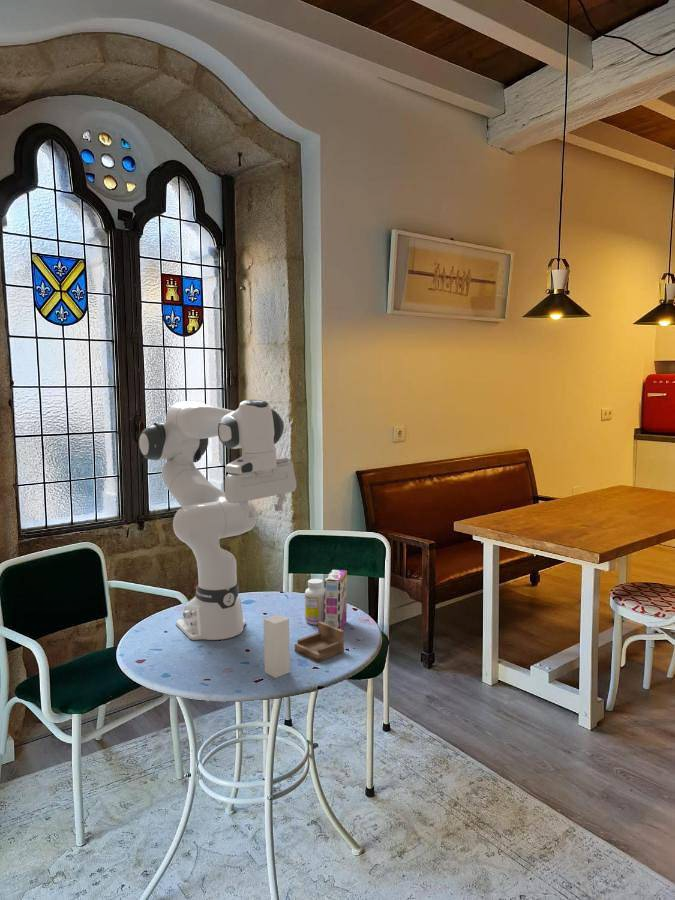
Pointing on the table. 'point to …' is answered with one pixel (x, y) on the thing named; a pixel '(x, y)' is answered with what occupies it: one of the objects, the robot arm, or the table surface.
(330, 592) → the candy bar box
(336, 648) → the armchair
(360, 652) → the table surface
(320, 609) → the supplement bottle
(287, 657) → the cream block
